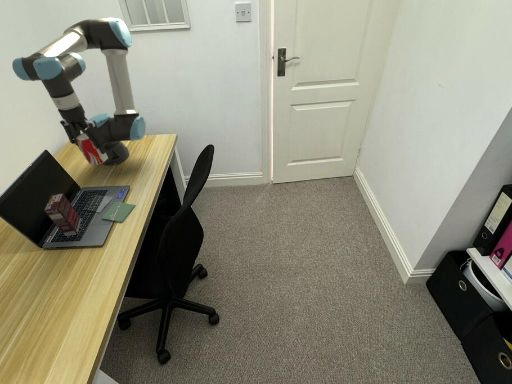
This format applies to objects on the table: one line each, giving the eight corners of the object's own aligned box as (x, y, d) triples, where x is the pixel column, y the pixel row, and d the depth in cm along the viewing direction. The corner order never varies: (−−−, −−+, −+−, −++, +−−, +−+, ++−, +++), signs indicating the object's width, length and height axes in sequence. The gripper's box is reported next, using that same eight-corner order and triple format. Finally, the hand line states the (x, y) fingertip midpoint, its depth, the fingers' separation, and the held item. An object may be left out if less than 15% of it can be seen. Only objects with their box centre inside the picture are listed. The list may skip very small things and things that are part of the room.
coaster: (115, 202, 125) (115, 201, 125) (135, 205, 123) (135, 204, 123) (102, 219, 118) (101, 218, 117) (122, 222, 116) (122, 221, 115)
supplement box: (71, 222, 117) (50, 195, 107) (83, 220, 118) (63, 192, 107) (65, 238, 111) (42, 210, 100) (78, 235, 112) (57, 208, 101)
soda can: (100, 167, 111) (87, 141, 103) (85, 165, 113) (70, 140, 105) (111, 157, 117) (98, 131, 108) (96, 155, 118) (82, 130, 110)
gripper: (37, 108, 98) (70, 161, 113) (85, 112, 94) (113, 166, 109) (53, 99, 103) (82, 151, 119) (99, 102, 99) (123, 155, 114)
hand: (97, 158), depth 114 cm, fingers closed on soda can, 7 cm apart
